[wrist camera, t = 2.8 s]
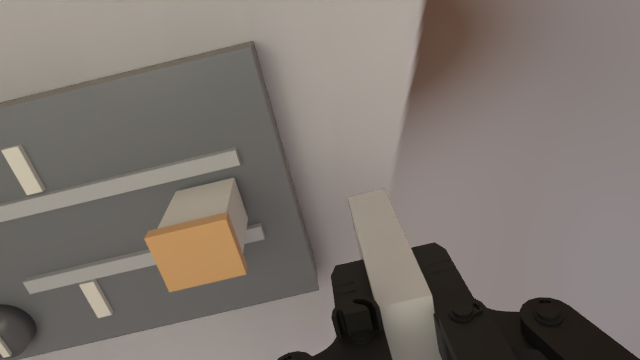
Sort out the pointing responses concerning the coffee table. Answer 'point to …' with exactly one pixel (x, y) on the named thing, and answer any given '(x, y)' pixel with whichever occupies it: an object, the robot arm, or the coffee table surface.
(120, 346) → the coffee table surface
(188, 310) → the console
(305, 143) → the coffee table surface
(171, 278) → the fader
